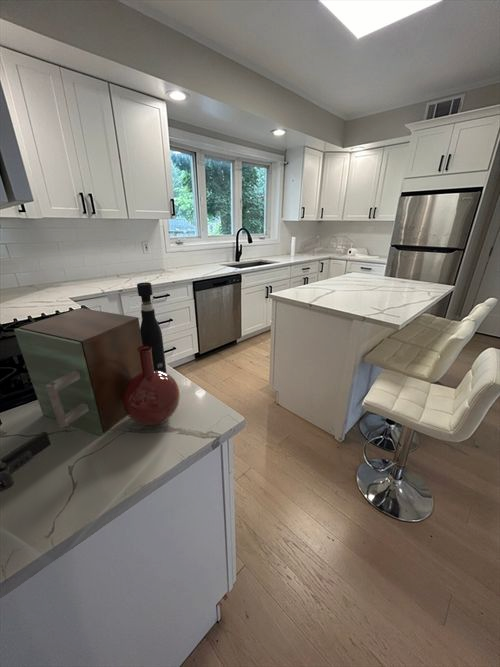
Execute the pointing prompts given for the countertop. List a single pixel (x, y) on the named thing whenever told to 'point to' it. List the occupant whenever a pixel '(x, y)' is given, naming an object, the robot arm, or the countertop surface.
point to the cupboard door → (60, 379)
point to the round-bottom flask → (150, 393)
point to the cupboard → (101, 353)
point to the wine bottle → (151, 327)
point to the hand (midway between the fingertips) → (22, 427)
